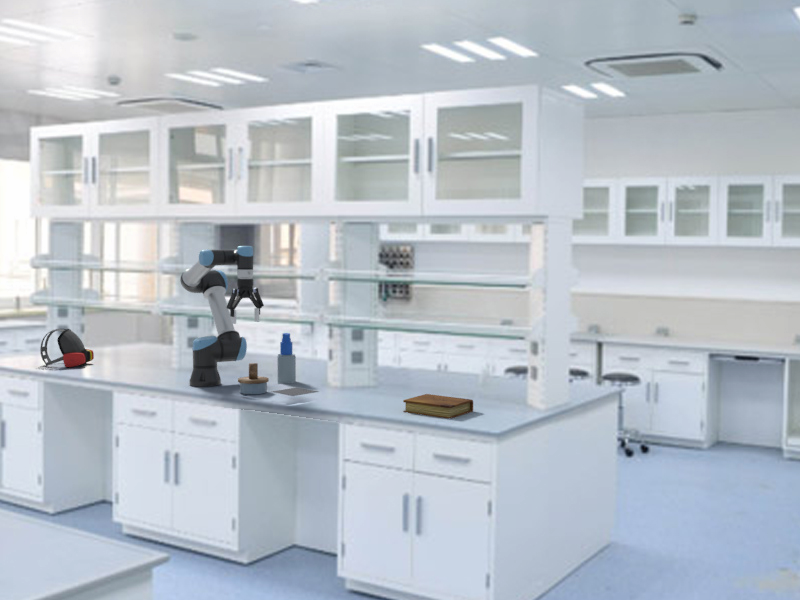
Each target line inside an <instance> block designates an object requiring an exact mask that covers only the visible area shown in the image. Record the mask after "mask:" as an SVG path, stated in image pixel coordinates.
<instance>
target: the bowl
mask: <svg viewBox="0 0 800 600" xmlns="http://www.w3.org/2000/svg"><path fill="white" fill-rule="evenodd" d="M267 384H268V382H266V383H259V384H244V383H239V393H240V394H242V395H244V396H246V397H247V395H262V394H265V393H267V392H268V387H267V386H268V385H267Z"/></svg>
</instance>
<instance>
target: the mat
mask: <svg viewBox="0 0 800 600" xmlns="http://www.w3.org/2000/svg"><path fill="white" fill-rule="evenodd" d="M319 392H320V391H318V390H313V389H308V388H307V389H306V388H302V387H291V388H290V387H289V388H285V389H278V390H272V391H271V393H275V394H280V395H286V396H291V397H295V396H296V397H297V396H301V395H308V394H309V395H310V394H314V393H319Z"/></svg>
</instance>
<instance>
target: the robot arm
mask: <svg viewBox="0 0 800 600" xmlns="http://www.w3.org/2000/svg"><path fill="white" fill-rule="evenodd" d="M216 266H237V267H236V269H237V270H236V271H237V272H236V274H237V275H236V277H237V279H236V280H237V281H236V282H237V284H236V285H237V288H232V289H231V295H230V297H229V300H228V303H227V298H226V296H225V295H226V293H227V291H228V287H229V286H228V285H229V283H228V281H229V280H228V277H227V275H226V273H225V272H224V271H222V270H216V269H213V268H214V267H216ZM253 278H254V248H253V246H252V245H239V246H237V248H236V249H234V248H232V249H202V250H200V251H199V254H198V260H197V261H196V262H195V263H194V264H193V265H192V266H191V267H190V268H186V269H185V270H184V271H183V272H182V273H181V275H180V284H181V286H182V288H183V289H184V290H186V291H187V292H189V293H192V294H202V295H203V297H204V299H206V300H207V301H208V304H209V305H208V306H209V308H210V311H211V315H212V318H213V322H214V325H215V328H216V331H217V336H216V335H207V336H201V337H197V338H195V339H194V340H193V341H192V372H191V375H190V379H189V386H192V387H197V388H198V387H200V388H201V387H208V388H209V387H215V386H219V385H222V379H221V376H220V372H219V369H218V363H225V362H226V363H228V362H237V361H243V360H244V358H245V357H246V354H247V349H248V345H247V339H246V338H245V337H243V336H242V337H241V335H240V332H239V331H237V330H236V329H235V326H234V325H236V324H237V310H236V308H237V307H238V304H239V303H240V302H241V300H243V299H250V301H251V303H252V304H253V305H254V311H253V312H254V314H253V317H254V322H257V323H259V322H260V315H261V309H262V308H264V302H263V300H262V298H261V295H260V293H259V292H260V291H259V288H258V287H254V279H253Z"/></svg>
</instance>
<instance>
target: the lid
mask: <svg viewBox="0 0 800 600" xmlns="http://www.w3.org/2000/svg"><path fill="white" fill-rule="evenodd" d="M258 369H259V368H258V363H257V362H251V363H248V376H243V377H239V378H237V382H238V383H239V384H240V383H244V384H259V383H266V382H267V383H269V380H270V379H269V377H267V376H260V375H258V373H259V372H258V371H259V370H258Z"/></svg>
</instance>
